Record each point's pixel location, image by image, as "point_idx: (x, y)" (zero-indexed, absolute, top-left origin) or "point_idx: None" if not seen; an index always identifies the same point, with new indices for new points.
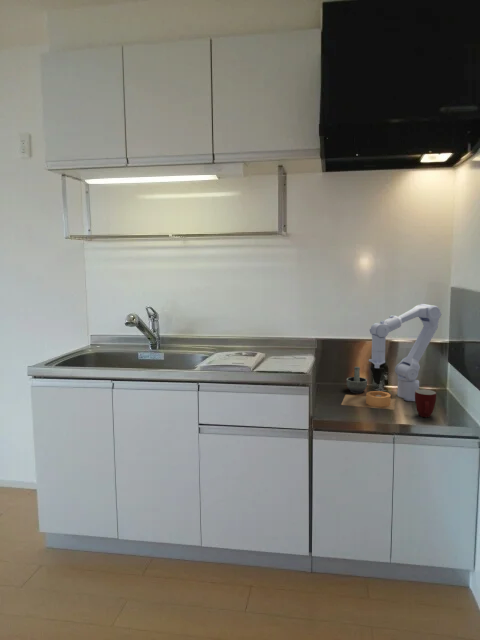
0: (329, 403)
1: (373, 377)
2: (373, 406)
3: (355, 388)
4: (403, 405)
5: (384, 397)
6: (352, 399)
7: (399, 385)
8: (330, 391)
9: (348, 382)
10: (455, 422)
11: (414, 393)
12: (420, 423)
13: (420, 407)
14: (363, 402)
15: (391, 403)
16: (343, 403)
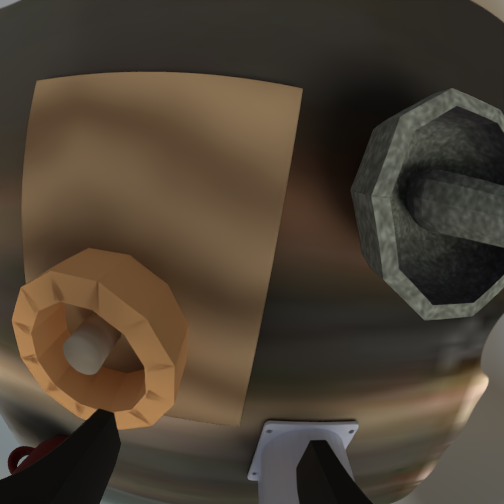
0: (122, 4)
1: (62, 442)
2: None
3: (356, 176)
4: (174, 431)
5: (36, 379)
6: (157, 142)
7: (290, 493)
8: (419, 23)
9: (415, 104)
10: None
11: (261, 496)
12: (3, 406)
13: (30, 453)
14: (97, 230)
15: None
16: (58, 89)
